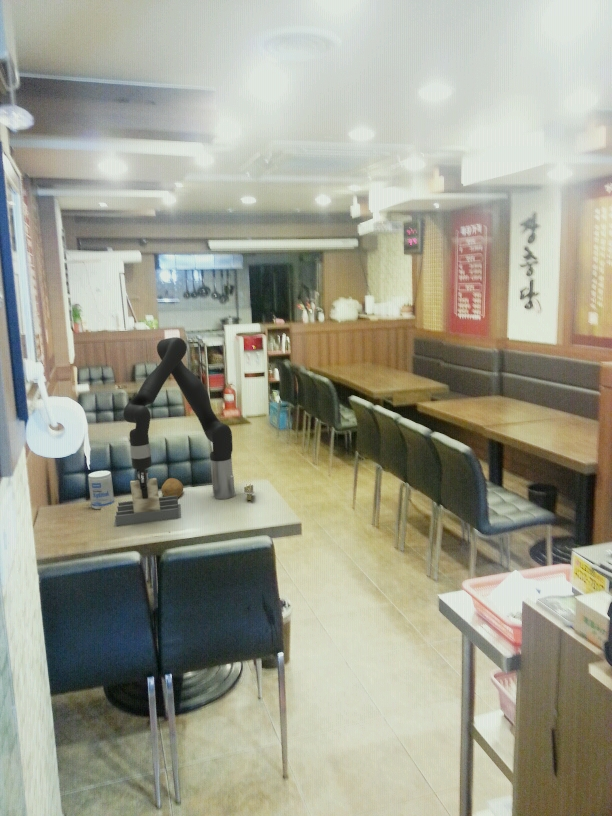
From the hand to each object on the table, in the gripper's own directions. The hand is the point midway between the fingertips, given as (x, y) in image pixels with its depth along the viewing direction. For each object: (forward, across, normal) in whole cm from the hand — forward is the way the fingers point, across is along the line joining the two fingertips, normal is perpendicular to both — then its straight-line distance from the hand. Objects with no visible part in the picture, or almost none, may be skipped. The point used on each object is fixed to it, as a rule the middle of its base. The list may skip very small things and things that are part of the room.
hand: (145, 497), depth 247 cm
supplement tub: (+11, +28, +20) cm, 36 cm away
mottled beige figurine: (+12, +14, -42) cm, 46 cm away
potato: (+11, +27, -10) cm, 31 cm away
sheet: (+7, 0, 0) cm, 7 cm away
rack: (+11, +5, 0) cm, 12 cm away
